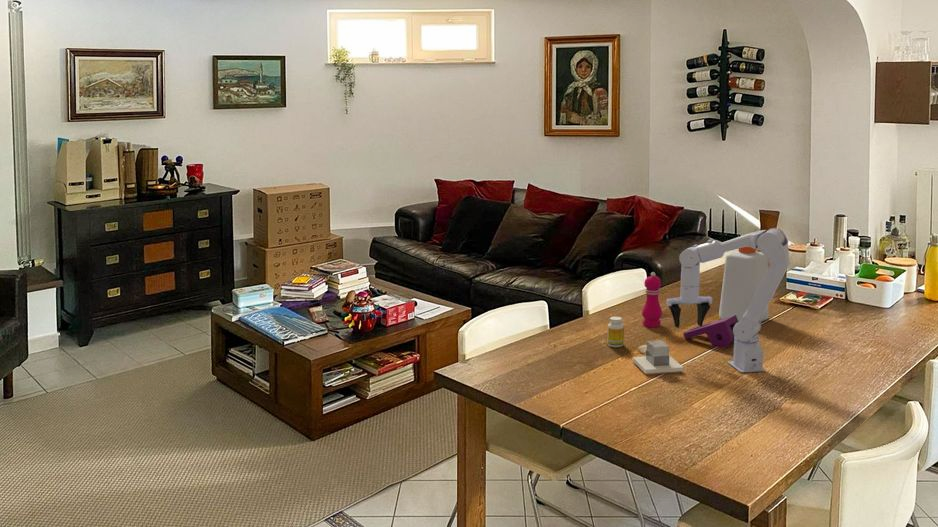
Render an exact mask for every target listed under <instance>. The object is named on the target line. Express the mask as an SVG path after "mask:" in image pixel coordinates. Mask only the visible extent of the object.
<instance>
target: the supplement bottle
mask: <svg viewBox="0 0 938 527" xmlns="http://www.w3.org/2000/svg"><path fill="white" fill-rule="evenodd" d="M609 322H610V323H608V325H607V340H606V341H607V342H606V343H607V344H606V345H608V347H611V348H621V347H623V345H624V340H625V339H624V333H625V332H624V330H625V329H624V328H625V325H624V324H623V323H622V322H623V318H622V317H621V316H611V317H610V318H609Z"/></svg>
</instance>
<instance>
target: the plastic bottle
mask: <svg viewBox="0 0 938 527" xmlns="http://www.w3.org/2000/svg"><path fill="white" fill-rule="evenodd" d="M768 269H769V261H768V259H767V257H766V256H765V255H764V254H763V253H762V252H761V251H757V249H753V248H751V247H749V246H747V247H743V248H739V249H737V250H733V251H730V252H727V254H726V255H725V261H724V269H723V278H722V285H721V286H722V288H721V293H720V303H719V311H718V315H719V318H720V319H724V318H727V317H730V316H734V315H736V316H737V319H738V321H740V320H741V319H742V317H743V315H744V314H745V312H746V311H747V309H748V308H749V306H750V304H751V302H752V300H753V298H754V296H755V294H756V292H757V290H758V288H759V286H760V284H761V282H762V280H763V278H764V277H765V275H766V273H767V271H768ZM769 304H770V303H769ZM769 304H768V306H767V308H766V310H765V312H764V314H763V318H762V320H761V323H762V322H764V321H767V320H768V319H769V317H770V315H769V314H770V313H769V311H770V310H769V308H770V307H769Z"/></svg>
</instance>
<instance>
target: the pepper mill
mask: <svg viewBox="0 0 938 527" xmlns="http://www.w3.org/2000/svg"><path fill="white" fill-rule="evenodd" d="M644 287H645V288H646V289H645V294H646V300H645V303H644V305H643V307H642V310H641V316H642V317H643V318H644V319H643V320H642V325H643V326H644V327H646V328H658V327H660V326H661V320H660V319H661V318H662V316H663V311H662V310H663V309H662V307H661V305H660V301H659V295H660V291H661V289H660V288H661V287H662V279H661V278H659V276H657V275H656V273H655V272H654V271H652V272H651V273H650V276H647V277H645V280H644Z"/></svg>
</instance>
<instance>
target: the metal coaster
mask: <svg viewBox="0 0 938 527" xmlns="http://www.w3.org/2000/svg"><path fill="white" fill-rule="evenodd" d="M646 350H647V344H643V345H639V346H638V347H637V351H638V352H639V353H640V354H643V355H646Z"/></svg>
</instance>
